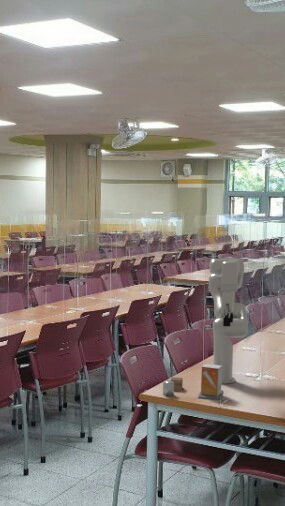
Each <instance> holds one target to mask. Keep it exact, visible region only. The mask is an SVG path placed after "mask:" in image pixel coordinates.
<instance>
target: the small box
mask: <svg viewBox="0 0 285 506" xmlns="http://www.w3.org/2000/svg"><path fill="white" fill-rule="evenodd" d="M200 376H201V378H200V379H201V382H200V383H201V384H200V385H201V386H200V392H201V394H205V395H212V396H218V395H220V394H221V390H222V366H219V365H213V364H209V363H205V364H203V365H202V366H201V375H200Z"/></svg>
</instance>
